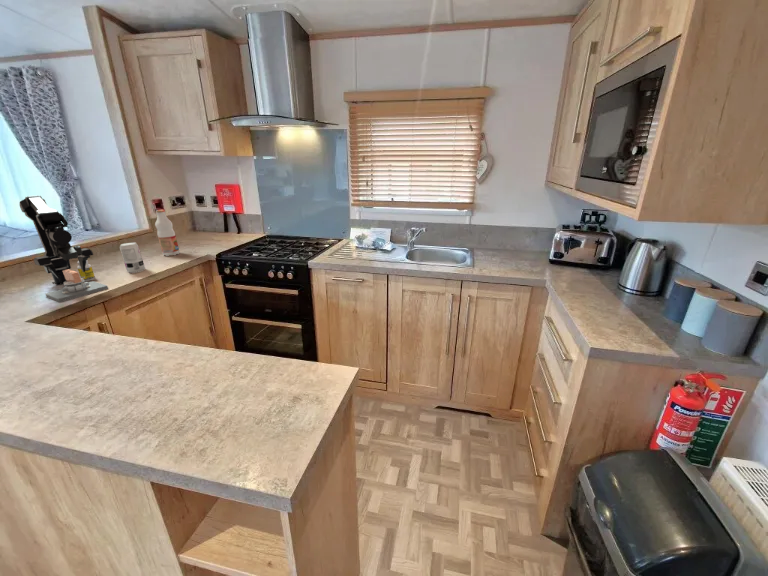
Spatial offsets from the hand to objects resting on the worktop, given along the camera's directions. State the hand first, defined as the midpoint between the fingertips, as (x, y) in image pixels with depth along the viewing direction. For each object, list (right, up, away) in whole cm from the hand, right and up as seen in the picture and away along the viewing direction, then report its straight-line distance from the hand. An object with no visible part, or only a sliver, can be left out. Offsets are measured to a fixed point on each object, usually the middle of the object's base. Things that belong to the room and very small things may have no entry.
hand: (71, 274), depth 151 cm
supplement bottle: (-10, -2, +20) cm, 23 cm away
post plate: (0, -8, +3) cm, 9 cm away
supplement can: (+5, +3, +33) cm, 33 cm away
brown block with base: (0, -6, +3) cm, 7 cm away
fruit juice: (+5, +15, +64) cm, 66 cm away
